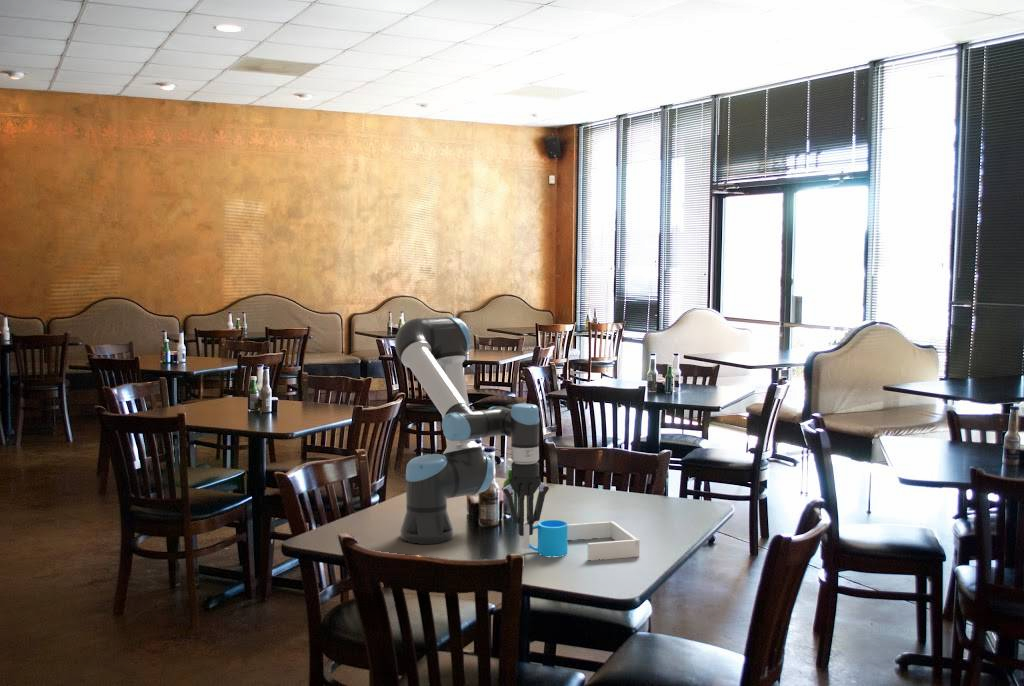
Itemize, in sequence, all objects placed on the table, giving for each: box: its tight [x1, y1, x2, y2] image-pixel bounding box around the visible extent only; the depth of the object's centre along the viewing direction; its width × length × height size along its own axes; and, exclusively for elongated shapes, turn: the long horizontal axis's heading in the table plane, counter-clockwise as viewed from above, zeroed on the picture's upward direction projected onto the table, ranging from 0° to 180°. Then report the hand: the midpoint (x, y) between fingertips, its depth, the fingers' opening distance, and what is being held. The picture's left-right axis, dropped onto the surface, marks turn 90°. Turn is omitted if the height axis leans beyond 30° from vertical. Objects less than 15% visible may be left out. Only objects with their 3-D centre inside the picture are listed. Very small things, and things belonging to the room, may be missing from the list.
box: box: [567, 520, 641, 561], centre depth 267 cm, size 14×20×4 cm
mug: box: [529, 519, 568, 558], centre depth 263 cm, size 12×8×8 cm
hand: (525, 546), depth 261 cm, fingers closed
